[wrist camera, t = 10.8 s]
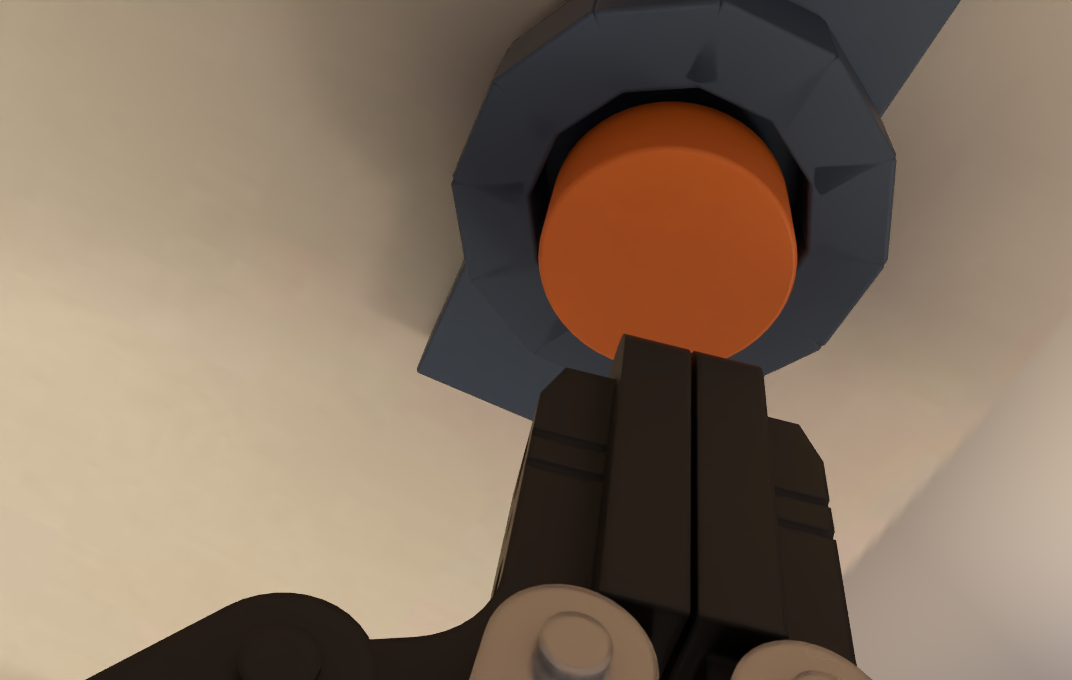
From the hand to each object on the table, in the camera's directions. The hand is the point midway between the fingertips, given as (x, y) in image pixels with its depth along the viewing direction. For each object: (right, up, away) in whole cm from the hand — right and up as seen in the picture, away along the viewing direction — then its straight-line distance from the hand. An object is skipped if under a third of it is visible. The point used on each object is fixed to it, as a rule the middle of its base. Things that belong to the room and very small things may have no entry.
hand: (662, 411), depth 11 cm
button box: (+1, +4, +7) cm, 8 cm away
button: (+1, +3, +4) cm, 5 cm away
